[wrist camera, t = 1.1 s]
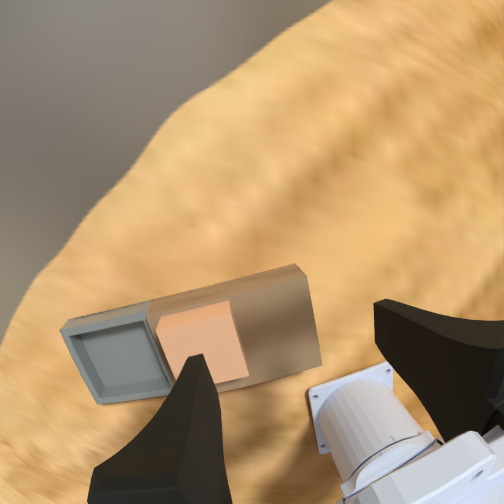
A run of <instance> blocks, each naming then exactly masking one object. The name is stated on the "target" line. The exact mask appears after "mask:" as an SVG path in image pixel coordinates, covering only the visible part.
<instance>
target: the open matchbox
mask: <svg viewBox="0 0 504 504" xmlns="http://www.w3.org/2000/svg"><path fill="white" fill-rule="evenodd" d="M228 300H229V302H230V305H231V309H232V312H233V316H234V319H235V323H236V326H237V330H238V333H239V337H240V340H241V343H242V347H243V350H244V354H245V357H246V361H247V366H248V371H249V376H247V377H243V378H238V379H234V380H230V381H225V382H221V383H216V384H215V386H216V389H217V392H218V393H220V392H224V391H229V390H233V389H238V388H242V387H246V386H250V385H254V384H258V383H262V382H266V381H270V380H274V379H277V378H281V377H284V376H288V375H292V374H295V373H298V372H302V371H305V370H309V369H312V368H315V367H318V366H321V365H322V361H321V354H320V348H319V342H318V336H317V330H316V325H315V319H314V313H313V308H312V302H311V297H310V291H309V286H308V280H307V276H306V274H305V273H304V272H303V271H302V270H301V269H300V268H299V267H298V266H297V265H296V264H292V265H288V266H284V267H280V268H277V269H273V270H269V271H265V272H261V273H258V274H254V275H250V276H246V277H242V278H238V279H234V280H230V281H227V282H223V283H219V284H215V285H211V286H207V287H203V288H199V289H195V290H191V291H187V292H183V293H179V294H175V295H171V296H167V297H163V298H158V299H154V300H153V302H152V304H151V306H150V308H149V310H148V313H147V315H146V319H147V321H148V324H149V326H150V329H151V332H152V334H153V337H154V339H155V342H156V344H157V347H158V349H159V352H160V354H161V357H162V359H163V361H164V364H165V366H166V368H167V371H168V373H169V375H170V378H171V380H172V382H173V384H175V382H176V379H175V377H174V375H173V372H172V370H171V368H170V365H169V363H168V360H167V358H166V356H165V353H164V351H163V348H162V346H161V343H160V341H159V338H158V335H157V333H156V328H157V325H158V323H159V320H160V317H162V316H166V315H170V314H174V313H179V312H183V311H187V310H191V309H195V308H199V307H204V306H208V305H212V304H216V303H220V302H224V301H228Z"/></svg>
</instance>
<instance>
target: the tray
mask: <svg viewBox="0 0 504 504" xmlns="http://www.w3.org/2000/svg"><path fill="white" fill-rule="evenodd" d="M152 302H153V300H150V301H146V302H142V303H138V304H134V305H129V306H125V307H121V308H117V309H112V310H108V311H104V312H100V313H95V314H91V315H87V316H82V317H78V318H73V319H69V320H68V321H67V322H66V324H65V325H64V326H63V327H62V328H61V329H60V333H61V335H62V337H63V339H64V341H65V344H66V346H67V348H68V350H69V352H70V354H71V356H72V358H73V360H74V362H75V364H76V366H77V368H78V370H79V372H80V374H81V376H82V378H83V380H84V382H85V384H86V385H87V387H88V389H89V391H90V393H91V394H92V396H93V398H94V400H95V401H96V403H97V405H98V404H107V403H115V402H123V401H131V400H138V399H145V398H151V397H157V396H163V395H169V393H170V391H171V389H172V387H173V386H174V384H173V382H172V380H171V378H170V375H169V373H168V371H167V368H166V366H165V364H164V361H163V359H162V357H161V354H160V352H159V349H158V347H157V344H156V342H155V339H154V337H153V334H152V332H151V329H150V326H149V324H148V321H147V319H146V315H147V313H148V310H149V308H150V306H151V304H152Z"/></svg>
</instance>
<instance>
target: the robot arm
mask: <svg viewBox="0 0 504 504" xmlns="http://www.w3.org/2000/svg"><path fill="white" fill-rule="evenodd" d="M373 305H374V328H375V343H376V345H377V347H378V348H379V350H380V351H381V353H382V355H383V356H384V358H385V359H386V360H387V361H385V362H382V363H380V364H377V365H374V366H372V367H369V368H366V369H364V370H361V371H358V372H355V373H353V374H350V375H347V376H344V377H341V378H338V379H335V380H332V381H329V382H326V383H323V384H320V385H317V386H314V387H311V388H310V389H309V390H308V395H309V401H310V406H311V411H312V417H313V422H314V427H315V433H316V439H317V444H318V450H319V453H320V454H326V453H329V452H330V453H331V456H332V458H333V460H334V463H335V465H336V467H337V470H338V472H339V474H340V477H341V479H342V481H343V484H342V485H341V486H340V488H341V490H342V493H343V495H344V497H343V498H341V499H339V500H337V501H336V504H504V320H502V321H483V320H469V319H462V318H455V317H450V316H445V315H441V314H437V313H433V312H429V311H426V310H423V309H419V308H416V307H413V306H410V305H406V304H403V303H400V302H397V301H393V300H389V299H384V300H381V301H378V302H375V303H373ZM387 369H388V371H386V370H387ZM393 369H394V370H395V371H396V372H397V373H398V374H399V375H400V377H401V378H402V379H403V380H404V381H405V382H406V383H407V385H408V386H409V387H410V388H411V389H412V390H413V392H414V393H415V394H416V395H417V397H418V398H419V400H420V401H421V403H422V404H423V406H424V407H425V409H426V410H427V412H428V413H429V415H430V417H431V419H432V420H433V422H434V424H435V425H436V427H437V429H438V431H439V433H440V436H438V437H437V438H436V440H435V439H434V438H433V436H432V435H431V434H430V433H429V431H428V430H427V431H425V432H424V431H423V430H422V429H421V428H420V426H419V425H418V424H417V423H416V421H415V420H414V419H413V417H412V416H411V415H410V414H409V412H408V411H407V410H406V409H405V407H404V406H403V405H402V404H401V402H400V401H399V400H398V399H397V397H396V396H395V395H394V394H393ZM314 395H317V396H315V397H313V396H314ZM87 502H88V504H233V503H232V499H231V494H230V489H229V485H228V480H227V475H226V470H225V464H224V456H223V439H222V420H221V409H220V403H219V398H218V392H217V389H216V386H215V384H214V381H213V379H212V376H211V374H210V371H209V368H208V366H207V363H206V360H205V358H204V355H203V353H202V354H198V355H194V356H189V357H188V358H187V359H186V361H185V363H184V366H183V368H182V370H181V372H180V374H179V376H178V378H177V380H176V382H175V384H174V386H173V387H172V389H171V391H170V393H169V395H168V396H167V398H166V399H165V401H164V403H163V404H162V406H161V407H160V409H159V410H158V412H157V413H156V414H155V416H154V417H153V418H152V419H151V421H150V422H149V423H148V424H147V425H146V426H145V427H144V428H143V430H142V431H141V432H140V433H139V434H138V435H137V436H136V437H135V438H134V439H133V440H132V441H131V442H129V443H128V444H127V445H126V446H125V447H124V448H122V449H121V450H120V451H119V452H117V453H116V454H115V455H113V456H112V457H110V458H109V459H107V460H106V461H104V462H103V463H101V464H100V465H98V466H97V467H95V468H94V470H93V474H92V477H91V482H90V488H89V493H88V499H87Z"/></svg>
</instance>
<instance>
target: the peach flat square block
mask: <svg viewBox="0 0 504 504" xmlns="http://www.w3.org/2000/svg"><path fill="white" fill-rule="evenodd" d="M156 333H157V335H158V338H159V341H160V343H161V346H162V348H163V351H164V353H165V356H166V358H167V360H168V363H169V365H170V368H171V370H172V372H173V375H174V377H175V379H176V380H177V378H178V376H179V374H180V372H181V370H182V368H183V366H184V363H185V361H186V359H187V358H188V357H189V356H194V355H198V354H202V353H203V355H204V358H205V360H206V363H207V366H208V368H209V371H210V374H211V376H212V379H213V381H214V384H216V383H221V382H225V381H230V380H234V379H238V378H243V377H247V376H249V371H248V366H247V361H246V357H245V354H244V350H243V347H242V343H241V340H240V337H239V333H238V330H237V326H236V323H235V319H234V316H233V312H232V309H231V305H230V302H229V300H228V301H224V302H220V303H216V304H212V305H208V306H204V307H199V308H195V309H191V310H187V311H183V312H179V313H174V314H170V315H166V316H162V317H160V320H159V323H158V325H157V328H156Z"/></svg>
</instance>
